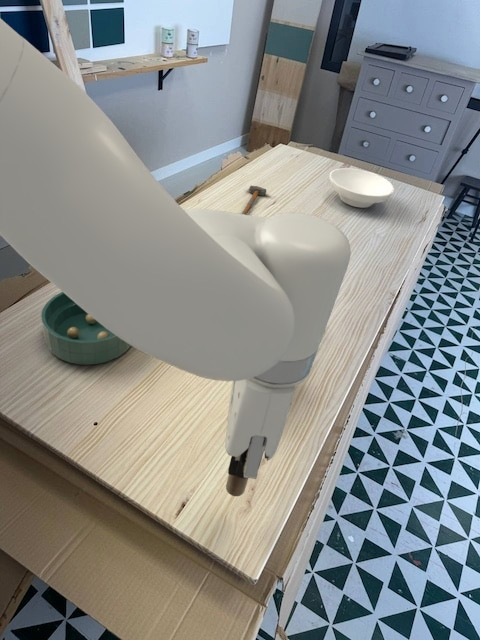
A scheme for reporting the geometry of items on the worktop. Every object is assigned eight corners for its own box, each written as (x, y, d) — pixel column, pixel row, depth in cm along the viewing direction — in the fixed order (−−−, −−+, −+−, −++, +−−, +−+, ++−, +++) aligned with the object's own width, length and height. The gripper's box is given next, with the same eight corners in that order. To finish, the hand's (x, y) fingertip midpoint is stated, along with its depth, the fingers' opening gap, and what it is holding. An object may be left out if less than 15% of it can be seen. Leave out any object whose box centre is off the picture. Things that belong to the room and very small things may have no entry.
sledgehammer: (223, 232, 119) (241, 237, 118) (223, 225, 117) (242, 230, 117) (250, 190, 139) (266, 194, 139) (250, 184, 138) (267, 188, 137)
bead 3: (101, 346, 80) (100, 338, 79) (95, 340, 81) (94, 331, 80) (111, 342, 81) (111, 333, 80) (106, 335, 82) (105, 327, 81)
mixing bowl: (71, 380, 74) (67, 355, 71) (30, 327, 82) (25, 302, 79) (151, 344, 83) (152, 321, 80) (108, 299, 91) (107, 276, 88)
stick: (234, 500, 56) (250, 446, 49) (221, 485, 57) (235, 430, 51) (249, 489, 58) (266, 435, 51) (236, 475, 59) (251, 420, 52)
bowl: (325, 183, 151) (331, 163, 147) (385, 196, 150) (392, 176, 146) (321, 208, 136) (328, 186, 132) (388, 223, 135) (396, 201, 131)
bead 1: (70, 342, 80) (69, 333, 79) (65, 335, 81) (64, 327, 80) (81, 338, 81) (80, 329, 80) (76, 331, 82) (75, 323, 81)
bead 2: (89, 327, 84) (88, 319, 82) (84, 321, 85) (83, 312, 83) (99, 323, 85) (99, 315, 83) (94, 317, 86) (93, 309, 84)
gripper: (239, 290, 49) (217, 404, 60) (227, 409, 36) (202, 525, 48) (309, 301, 49) (274, 413, 61) (321, 423, 37) (274, 534, 48)
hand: (242, 461), depth 54 cm, fingers closed on stick, 2 cm apart
